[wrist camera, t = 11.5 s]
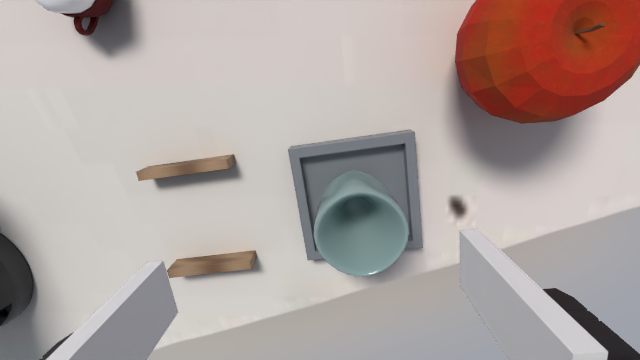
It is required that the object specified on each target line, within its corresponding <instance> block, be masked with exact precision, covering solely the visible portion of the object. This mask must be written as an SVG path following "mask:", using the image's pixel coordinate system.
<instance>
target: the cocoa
mask: <svg viewBox="0 0 640 360" xmlns="http://www.w3.org/2000/svg"><path fill="white" fill-rule="evenodd" d="M36 1H37V2H38V3H39V4H40V5H41V6H43V7H44V8H45V9H47V10H49V11H52V12H55V13H61V14H63V15H66V16H69V17H74V25H75V28H76V30H77V31H78V32H79V33H80V34H82V35H90V34H92V33H93V32H94V30H95V28H96V26H97V22H98V19H99V16H101V15H102V14H104V13H105V12H107V11H109V9H110V7H111V5H112V3H113V1H114V0H36ZM84 17H90V23H89V26H88V28H87V30H86V31H85V30H84V29H83V27H82V19H83V18H84Z"/></svg>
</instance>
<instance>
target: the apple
mask: <svg viewBox="0 0 640 360" xmlns="http://www.w3.org/2000/svg"><path fill="white" fill-rule="evenodd" d="M455 63H456V67H457V71H458V75H459V79H460V82H461V86H462V88H463V89H464V90H465V92H466V93H467V94H468V95H469V96H470V97H471V98H472V100H473V101H474V102H475V103H476V104H477V105H478V106H479V107H480V108H482V109H483V110H485V111H486V112H488V113H490V114H491V115H493V116H497V117H500V118H504V119H508V120H512V121H515V122H519V123H536V122H551V121H557V120H560V119H563V118H566V117H569V116H572V115H575V114H577V113H579V112H581V111H583V110H585V109H587V108H589V107H591V106H593V105H595V104H597V103H599V102H602V101H604V100H605V99H606V98H607V97H609V96H610V95H611V94H612V93H613V92H614V91H616V90H617V89H618V88H619V87H620V86H622V85H623V84H624V83H625V82H626V81H628V80H629V79H630V78H631V77H632V76H633V74H634V73H635V71H636V70H637V68H638V67H639V65H640V0H476V1H475V3H474V4H473V5H472V6H471V8H470V10H469V12H468V14H467V16H466V18H465V19H464V21H463V23H462V25H461V27H460V29H459V31H458V33H457V43H456V56H455Z"/></svg>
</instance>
